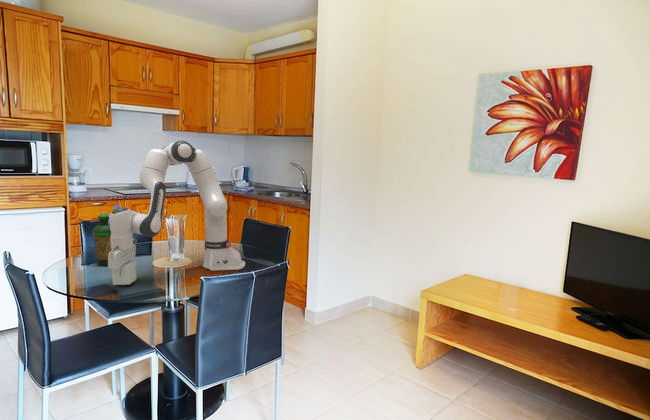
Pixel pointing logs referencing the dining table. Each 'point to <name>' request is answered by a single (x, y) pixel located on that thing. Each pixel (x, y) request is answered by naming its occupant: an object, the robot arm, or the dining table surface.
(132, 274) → the beige rounded cube
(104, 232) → the bottle
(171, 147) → the robot arm
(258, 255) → the dining table surface
